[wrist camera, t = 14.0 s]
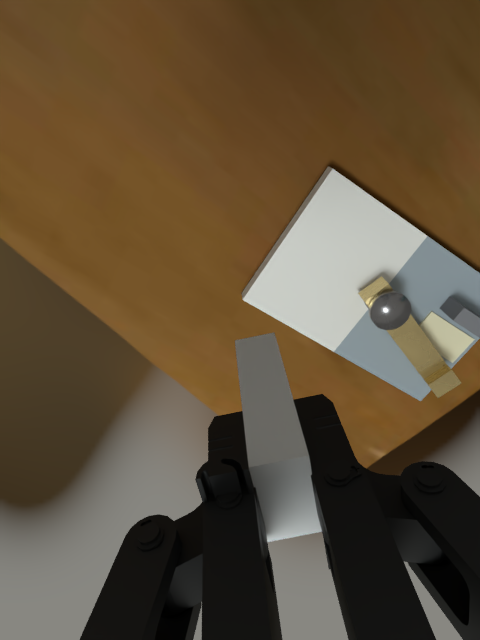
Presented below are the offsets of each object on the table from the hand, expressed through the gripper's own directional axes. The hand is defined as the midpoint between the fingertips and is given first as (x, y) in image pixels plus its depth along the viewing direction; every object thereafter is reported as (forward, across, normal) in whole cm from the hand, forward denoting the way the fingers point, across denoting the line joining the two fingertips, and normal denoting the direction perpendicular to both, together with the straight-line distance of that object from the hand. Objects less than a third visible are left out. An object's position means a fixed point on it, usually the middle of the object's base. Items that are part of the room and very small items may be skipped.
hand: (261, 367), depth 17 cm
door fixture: (+26, +12, -10) cm, 31 cm away
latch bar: (+24, +14, -14) cm, 32 cm away
